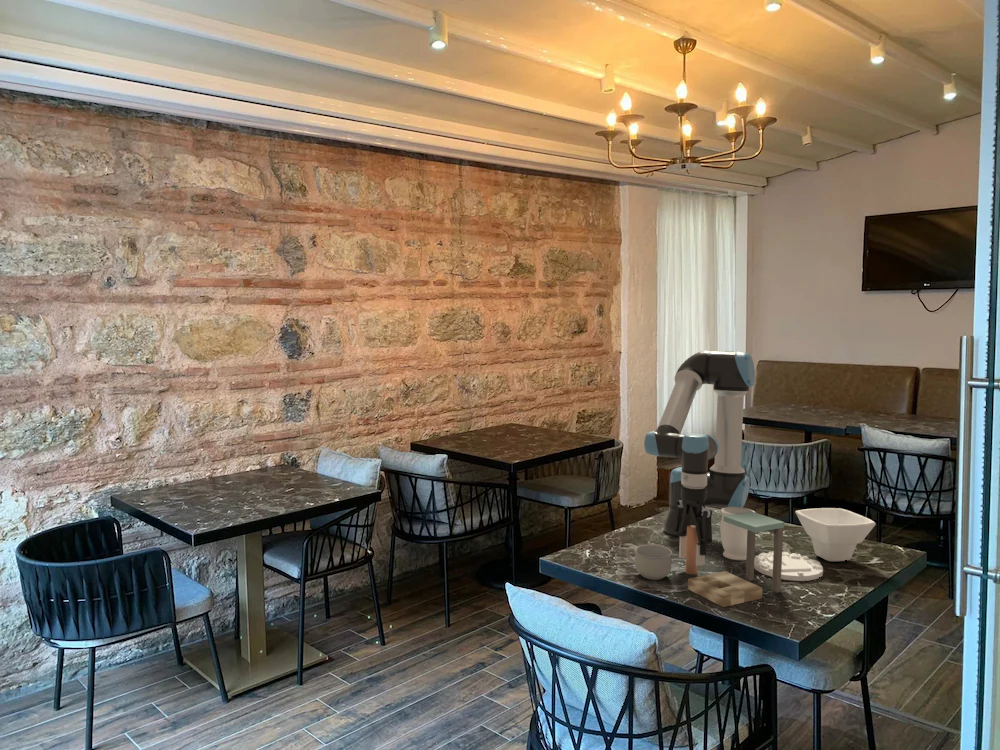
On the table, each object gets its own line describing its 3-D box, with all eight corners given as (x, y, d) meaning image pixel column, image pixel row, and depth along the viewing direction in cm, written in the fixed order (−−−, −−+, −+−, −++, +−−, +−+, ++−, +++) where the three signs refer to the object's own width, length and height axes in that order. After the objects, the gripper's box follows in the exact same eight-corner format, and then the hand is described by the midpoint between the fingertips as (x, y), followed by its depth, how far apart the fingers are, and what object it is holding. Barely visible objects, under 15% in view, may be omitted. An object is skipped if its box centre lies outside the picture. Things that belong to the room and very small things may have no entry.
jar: (719, 560, 233) (721, 513, 231) (719, 549, 243) (720, 505, 241) (755, 563, 230) (756, 516, 229) (753, 553, 240) (754, 507, 238)
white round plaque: (754, 579, 217) (755, 570, 217) (750, 557, 236) (751, 548, 236) (828, 586, 212) (828, 576, 212) (817, 563, 231) (818, 554, 231)
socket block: (687, 589, 208) (688, 578, 208) (725, 581, 214) (725, 571, 214) (723, 607, 196) (723, 596, 195) (762, 598, 202) (762, 587, 202)
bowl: (825, 571, 223) (827, 526, 222) (788, 551, 242) (790, 509, 241) (879, 567, 227) (881, 523, 226) (838, 547, 246) (840, 506, 245)
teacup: (678, 576, 218) (679, 550, 217) (657, 585, 211) (658, 558, 210) (639, 564, 228) (640, 539, 227) (618, 573, 221) (618, 547, 220)
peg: (683, 571, 222) (684, 526, 221) (691, 569, 224) (693, 524, 223) (690, 575, 219) (692, 529, 218) (699, 573, 221) (701, 527, 220)
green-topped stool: (721, 583, 212) (723, 516, 211) (749, 577, 217) (752, 511, 216) (752, 598, 202) (755, 527, 200) (781, 591, 207) (784, 522, 205)
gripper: (662, 480, 226) (660, 553, 228) (707, 494, 209) (704, 573, 211) (681, 477, 230) (679, 549, 232) (727, 492, 212) (724, 569, 214)
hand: (691, 561), depth 221 cm, fingers open, 7 cm apart
